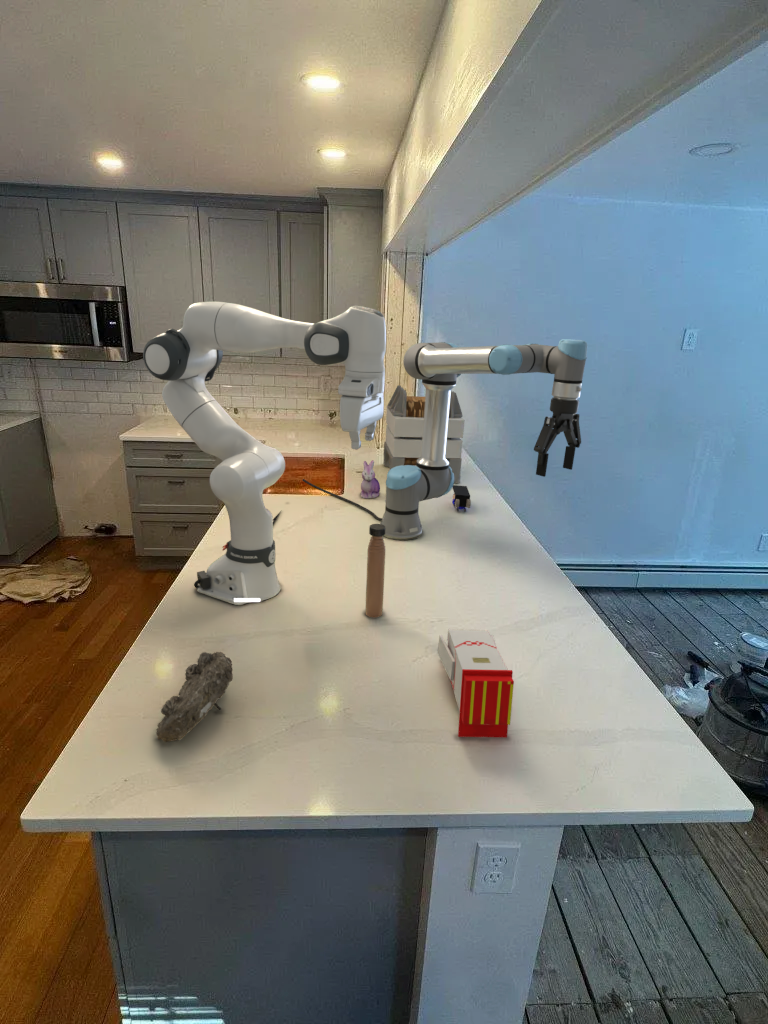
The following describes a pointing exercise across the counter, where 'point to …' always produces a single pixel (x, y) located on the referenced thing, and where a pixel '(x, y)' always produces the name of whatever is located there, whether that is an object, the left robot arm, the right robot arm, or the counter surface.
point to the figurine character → (461, 497)
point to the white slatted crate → (419, 431)
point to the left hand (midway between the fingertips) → (362, 444)
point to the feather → (275, 518)
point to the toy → (478, 682)
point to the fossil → (195, 695)
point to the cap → (377, 530)
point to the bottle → (375, 577)
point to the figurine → (369, 482)
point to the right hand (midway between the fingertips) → (554, 472)
